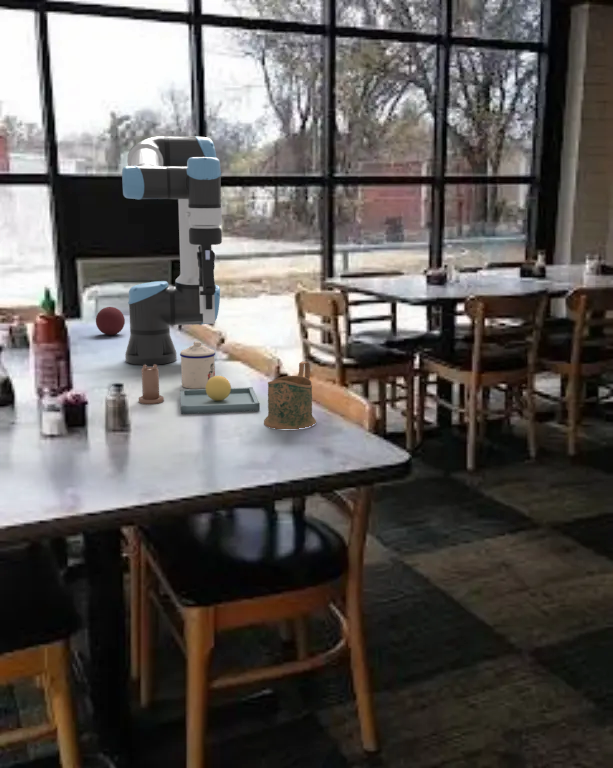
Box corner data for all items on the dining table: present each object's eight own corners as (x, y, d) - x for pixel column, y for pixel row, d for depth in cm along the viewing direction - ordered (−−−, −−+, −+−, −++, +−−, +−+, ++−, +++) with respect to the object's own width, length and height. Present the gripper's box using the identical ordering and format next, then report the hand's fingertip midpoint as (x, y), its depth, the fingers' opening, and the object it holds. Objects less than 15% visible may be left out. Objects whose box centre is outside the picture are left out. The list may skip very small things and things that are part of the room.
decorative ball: (121, 337, 277) (120, 309, 275) (93, 337, 278) (91, 308, 275) (128, 332, 287) (127, 305, 285) (100, 332, 287) (99, 304, 285)
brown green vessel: (331, 411, 184) (331, 361, 182) (306, 432, 168) (306, 377, 165) (284, 407, 188) (284, 357, 185) (255, 427, 172) (255, 373, 169)
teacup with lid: (215, 389, 205) (214, 344, 202) (180, 390, 204) (178, 345, 201) (216, 378, 217) (215, 336, 214) (182, 379, 216) (180, 337, 213)
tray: (180, 396, 197) (180, 389, 197) (252, 394, 200) (252, 387, 199) (181, 414, 182) (181, 406, 181) (259, 410, 185) (259, 403, 184)
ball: (205, 397, 193) (204, 373, 192) (230, 396, 194) (229, 372, 193) (206, 404, 187) (205, 379, 186) (232, 403, 188) (231, 378, 187)
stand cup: (139, 398, 195) (137, 363, 193) (163, 397, 196) (162, 362, 194) (138, 404, 190) (136, 368, 188) (163, 403, 191) (162, 367, 189)
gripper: (186, 223, 194) (189, 309, 200) (190, 230, 171) (193, 327, 176) (217, 223, 196) (219, 309, 201) (226, 230, 172) (227, 327, 177)
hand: (207, 318), depth 188 cm, fingers open, 13 cm apart
